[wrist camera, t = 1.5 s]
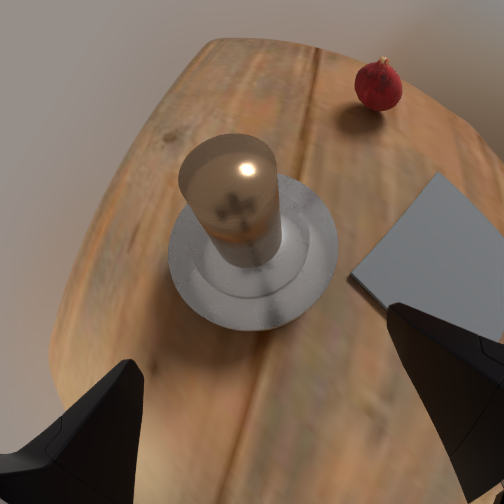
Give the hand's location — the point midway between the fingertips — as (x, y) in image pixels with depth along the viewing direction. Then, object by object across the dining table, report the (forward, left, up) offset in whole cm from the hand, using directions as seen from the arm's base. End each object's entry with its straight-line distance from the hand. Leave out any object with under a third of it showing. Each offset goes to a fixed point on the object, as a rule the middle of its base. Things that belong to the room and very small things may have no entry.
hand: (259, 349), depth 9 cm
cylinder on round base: (+4, +7, -9) cm, 12 cm away
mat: (+17, -7, -13) cm, 23 cm away
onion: (+28, +12, -14) cm, 33 cm away
